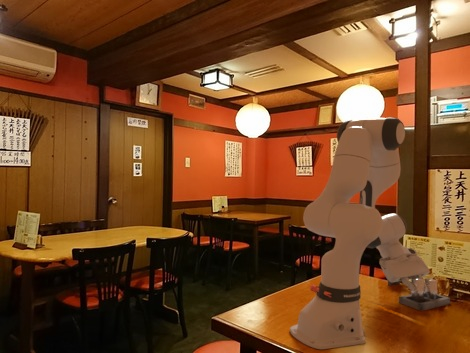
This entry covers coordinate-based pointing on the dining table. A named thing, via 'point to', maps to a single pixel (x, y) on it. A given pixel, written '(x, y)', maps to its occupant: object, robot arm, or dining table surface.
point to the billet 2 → (431, 288)
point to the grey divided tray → (426, 304)
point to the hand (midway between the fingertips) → (419, 289)
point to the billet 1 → (418, 290)
